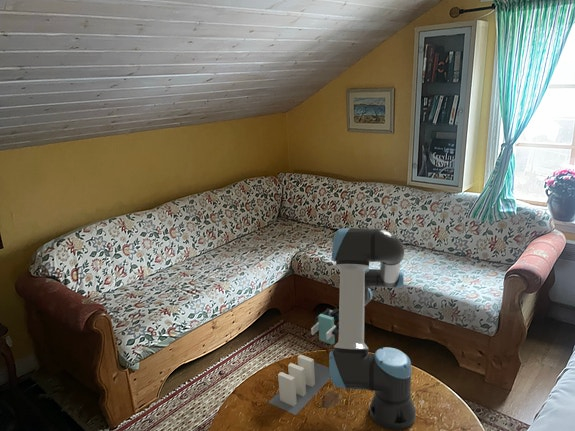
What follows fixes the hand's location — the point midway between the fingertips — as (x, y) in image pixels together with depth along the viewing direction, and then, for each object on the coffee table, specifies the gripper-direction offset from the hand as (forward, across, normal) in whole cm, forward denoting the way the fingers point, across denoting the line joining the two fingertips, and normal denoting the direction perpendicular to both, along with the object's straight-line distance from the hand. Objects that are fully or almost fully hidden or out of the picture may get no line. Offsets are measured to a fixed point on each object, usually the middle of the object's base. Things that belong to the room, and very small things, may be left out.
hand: (319, 334), depth 176 cm
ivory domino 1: (+22, 0, -16) cm, 27 cm away
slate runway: (+12, 0, -17) cm, 21 cm away
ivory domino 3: (+10, 0, -16) cm, 19 cm away
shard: (+13, -13, -18) cm, 25 cm away
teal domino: (-5, 0, -6) cm, 8 cm away
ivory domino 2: (+16, 0, -16) cm, 22 cm away
